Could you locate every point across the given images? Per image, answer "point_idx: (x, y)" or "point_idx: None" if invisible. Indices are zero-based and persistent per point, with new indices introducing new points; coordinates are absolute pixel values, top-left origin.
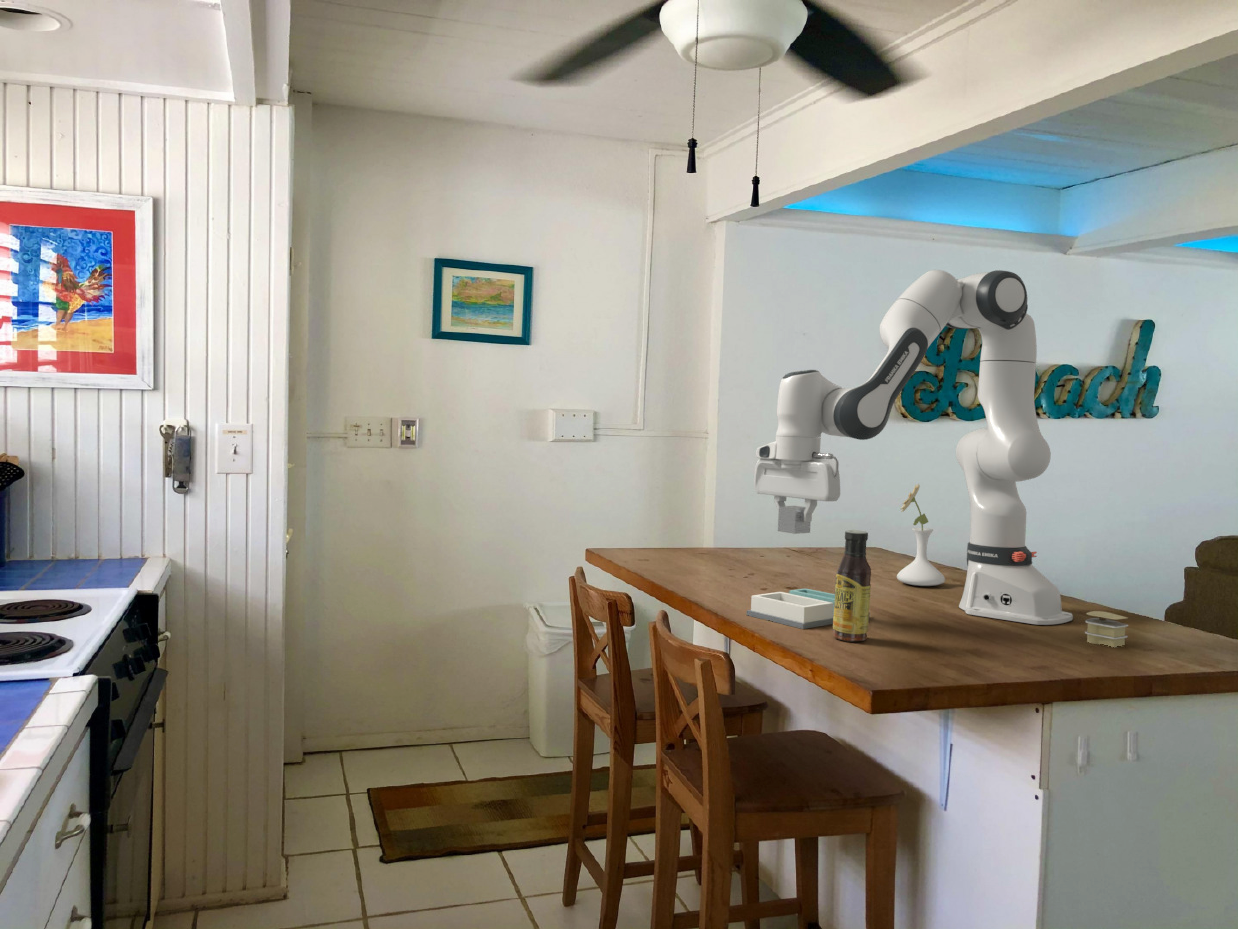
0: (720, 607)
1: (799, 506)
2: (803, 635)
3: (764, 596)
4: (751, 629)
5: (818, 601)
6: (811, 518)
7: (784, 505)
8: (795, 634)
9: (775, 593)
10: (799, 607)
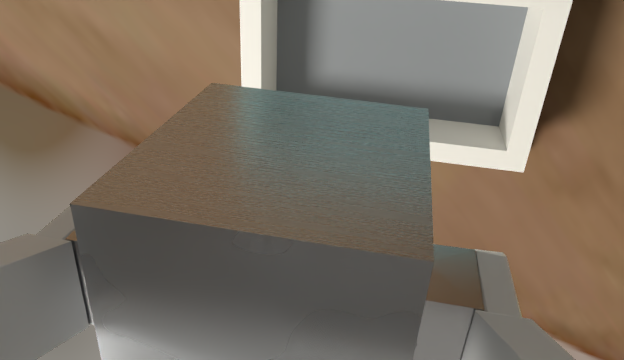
0: (117, 85)
1: (190, 236)
2: (565, 219)
3: (263, 87)
4: None
5: (495, 4)
6: (509, 272)
7: (11, 283)
8: (537, 225)
9: (259, 19)
10: (496, 166)
